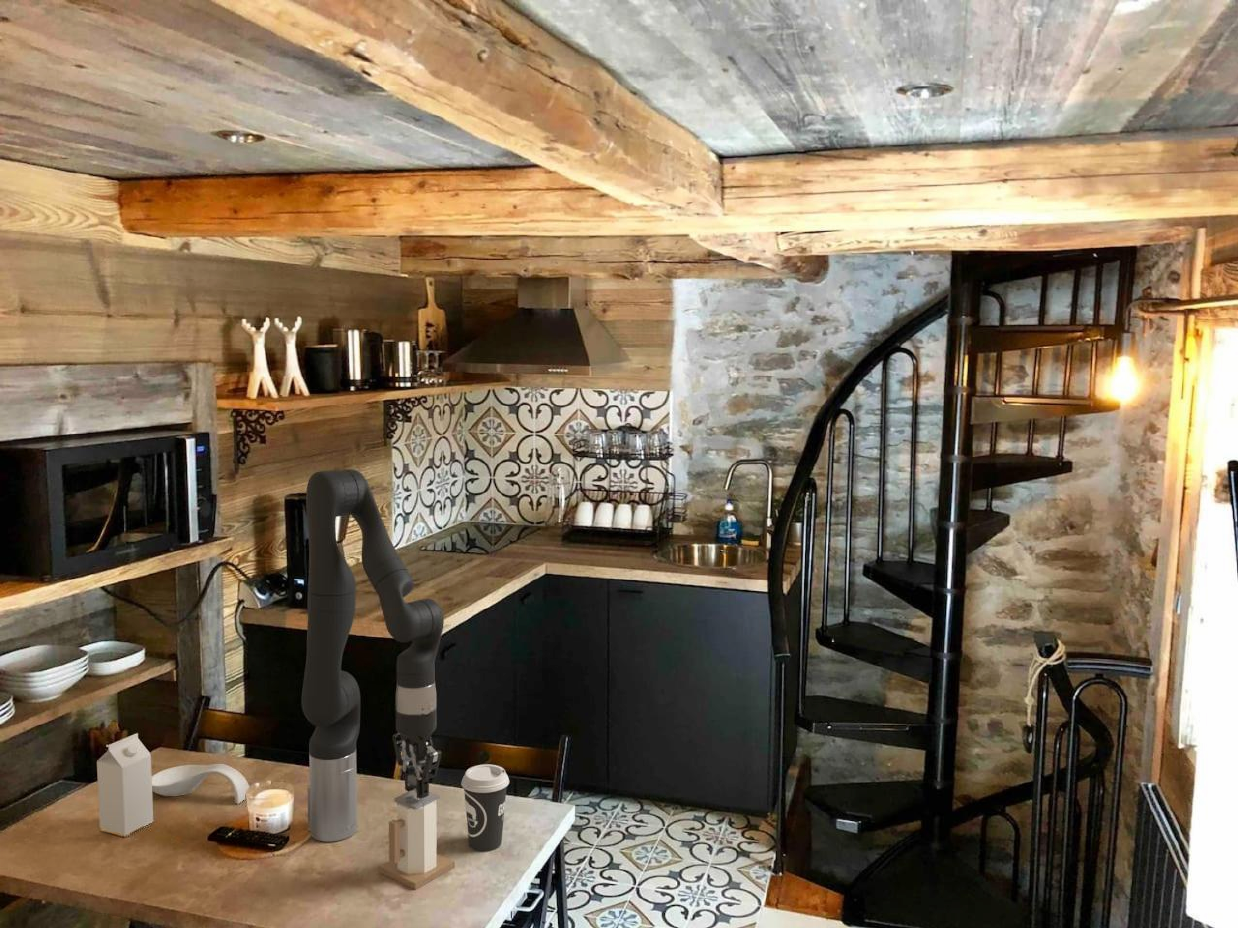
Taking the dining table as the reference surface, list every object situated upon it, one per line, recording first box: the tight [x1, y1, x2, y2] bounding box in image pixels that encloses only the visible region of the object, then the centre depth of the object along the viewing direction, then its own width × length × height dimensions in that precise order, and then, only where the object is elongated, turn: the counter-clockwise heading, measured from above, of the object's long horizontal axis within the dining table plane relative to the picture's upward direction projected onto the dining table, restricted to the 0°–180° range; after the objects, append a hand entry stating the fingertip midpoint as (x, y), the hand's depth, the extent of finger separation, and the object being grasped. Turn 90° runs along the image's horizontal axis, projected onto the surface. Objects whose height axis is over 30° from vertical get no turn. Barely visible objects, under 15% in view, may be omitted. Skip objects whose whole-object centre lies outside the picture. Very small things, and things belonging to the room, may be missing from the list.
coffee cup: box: [460, 763, 510, 852], centre depth 199 cm, size 10×10×15 cm
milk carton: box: [96, 732, 154, 835], centre depth 204 cm, size 7×7×19 cm
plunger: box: [408, 769, 423, 800], centre depth 188 cm, size 5×5×14 cm
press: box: [379, 790, 456, 890], centre depth 188 cm, size 10×11×15 cm
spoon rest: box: [152, 763, 250, 805], centre depth 220 cm, size 24×12×7 cm, turn 76°
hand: (416, 792), depth 188 cm, fingers open, 3 cm apart
